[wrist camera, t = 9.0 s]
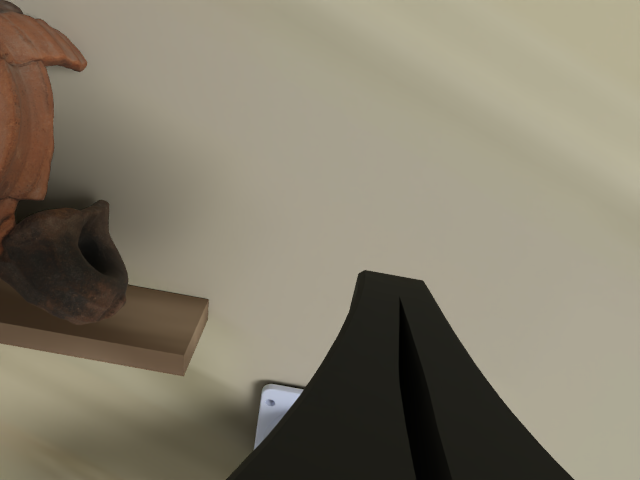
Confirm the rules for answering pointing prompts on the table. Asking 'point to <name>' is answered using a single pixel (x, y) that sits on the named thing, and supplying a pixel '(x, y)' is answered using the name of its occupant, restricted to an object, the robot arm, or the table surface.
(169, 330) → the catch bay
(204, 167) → the table surface
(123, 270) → the pottery mug
